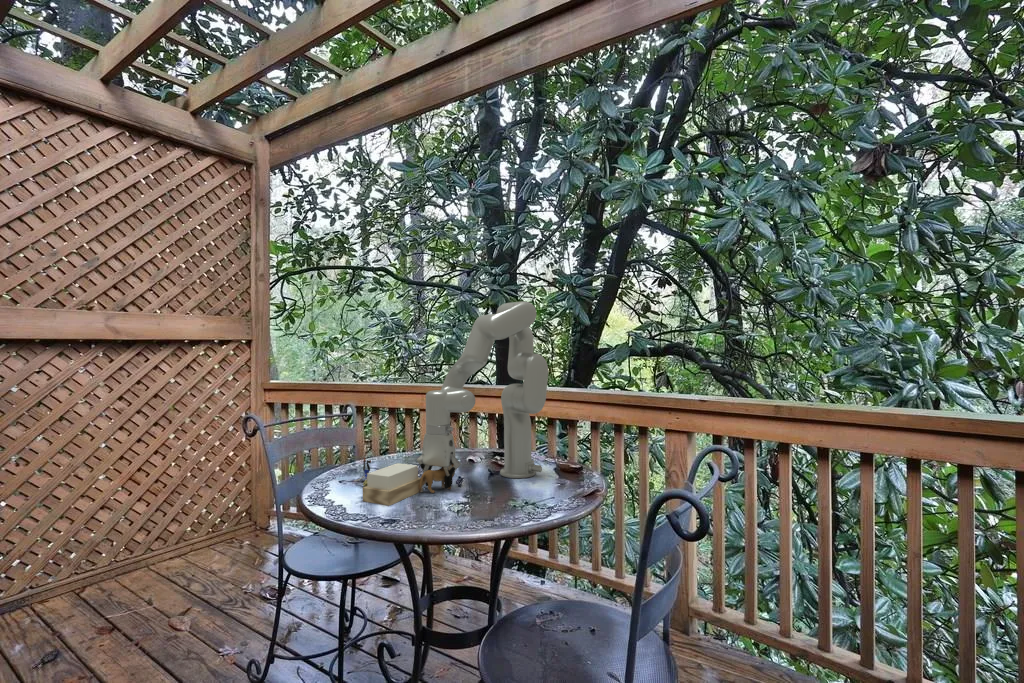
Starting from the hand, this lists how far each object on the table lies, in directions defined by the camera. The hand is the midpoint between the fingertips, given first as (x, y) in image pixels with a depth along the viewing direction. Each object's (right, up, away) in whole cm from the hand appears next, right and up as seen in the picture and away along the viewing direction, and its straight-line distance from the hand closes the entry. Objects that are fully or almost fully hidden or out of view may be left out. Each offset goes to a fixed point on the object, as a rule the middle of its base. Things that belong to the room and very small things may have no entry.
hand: (438, 485), depth 164 cm
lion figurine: (0, -1, 0) cm, 1 cm away
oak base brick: (-13, -1, -6) cm, 14 cm away
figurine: (-26, -2, +10) cm, 27 cm away
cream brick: (-13, +3, -6) cm, 14 cm away
